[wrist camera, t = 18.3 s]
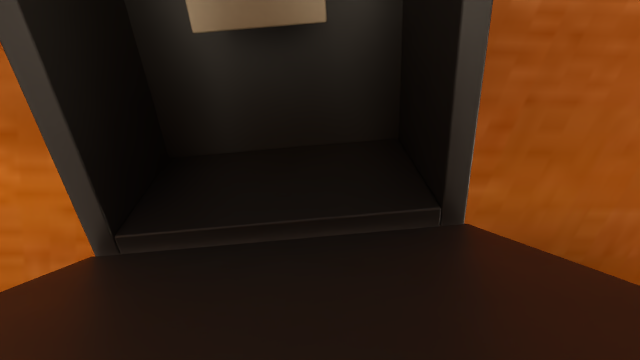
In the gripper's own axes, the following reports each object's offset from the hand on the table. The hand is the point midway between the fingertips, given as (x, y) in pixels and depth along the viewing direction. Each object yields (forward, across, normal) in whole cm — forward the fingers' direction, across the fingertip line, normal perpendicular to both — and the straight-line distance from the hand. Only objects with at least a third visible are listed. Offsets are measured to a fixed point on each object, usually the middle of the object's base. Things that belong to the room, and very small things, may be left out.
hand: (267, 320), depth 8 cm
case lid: (-2, 0, -2) cm, 3 cm away
